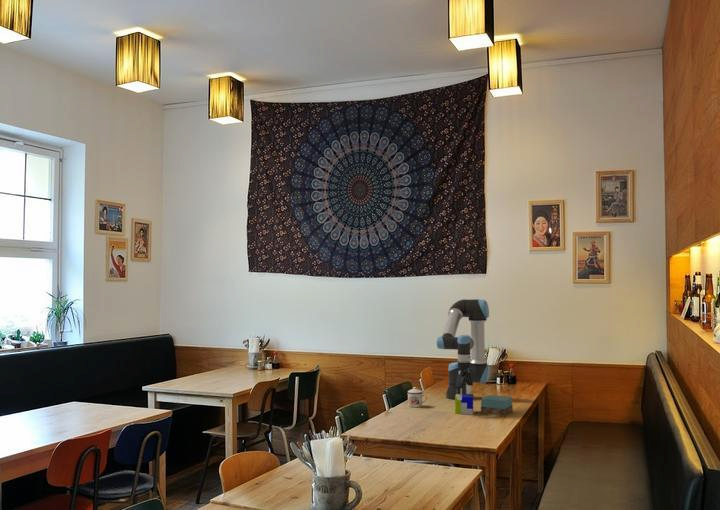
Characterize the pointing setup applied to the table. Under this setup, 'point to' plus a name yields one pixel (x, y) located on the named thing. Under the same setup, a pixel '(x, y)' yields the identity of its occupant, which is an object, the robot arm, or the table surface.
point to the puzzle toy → (464, 404)
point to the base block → (497, 411)
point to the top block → (496, 401)
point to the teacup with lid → (415, 397)
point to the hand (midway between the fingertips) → (464, 398)
